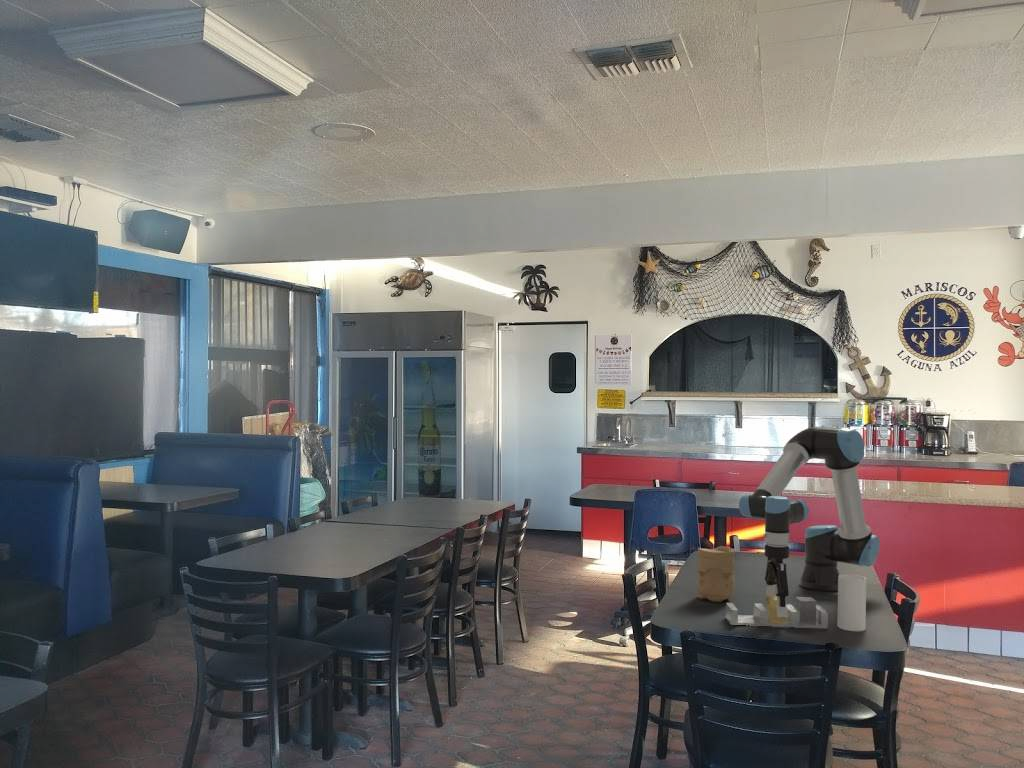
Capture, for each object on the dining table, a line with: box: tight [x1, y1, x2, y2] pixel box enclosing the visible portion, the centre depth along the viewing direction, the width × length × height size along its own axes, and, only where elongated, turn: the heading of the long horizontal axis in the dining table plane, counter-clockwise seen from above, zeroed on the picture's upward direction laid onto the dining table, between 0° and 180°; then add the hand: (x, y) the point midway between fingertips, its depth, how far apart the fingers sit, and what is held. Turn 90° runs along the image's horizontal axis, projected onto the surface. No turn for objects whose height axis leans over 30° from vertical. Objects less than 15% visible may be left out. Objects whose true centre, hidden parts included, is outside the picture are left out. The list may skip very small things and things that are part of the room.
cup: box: [837, 573, 867, 632], centre depth 268 cm, size 8×8×16 cm
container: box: [697, 545, 735, 603], centre depth 301 cm, size 13×13×18 cm
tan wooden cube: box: [765, 595, 786, 622], centre depth 272 cm, size 5×5×7 cm
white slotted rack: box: [725, 596, 829, 630], centre depth 272 cm, size 30×9×8 cm, turn 87°
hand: (776, 610), depth 272 cm, fingers open, 13 cm apart
